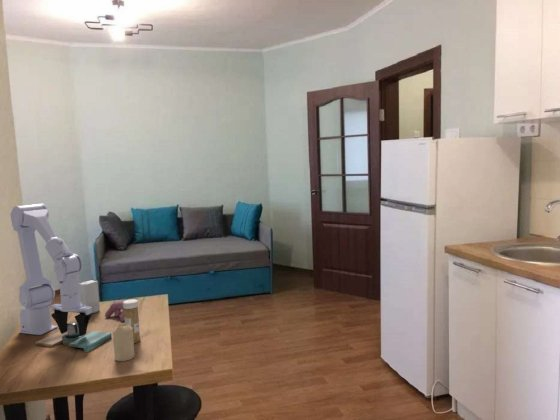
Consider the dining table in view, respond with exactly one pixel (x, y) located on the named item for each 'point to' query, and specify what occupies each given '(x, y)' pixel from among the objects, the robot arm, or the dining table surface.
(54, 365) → the dining table surface
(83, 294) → the skincare box
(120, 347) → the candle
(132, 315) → the sprinkles bottle
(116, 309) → the video game controller
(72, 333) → the pin
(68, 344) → the hinge
